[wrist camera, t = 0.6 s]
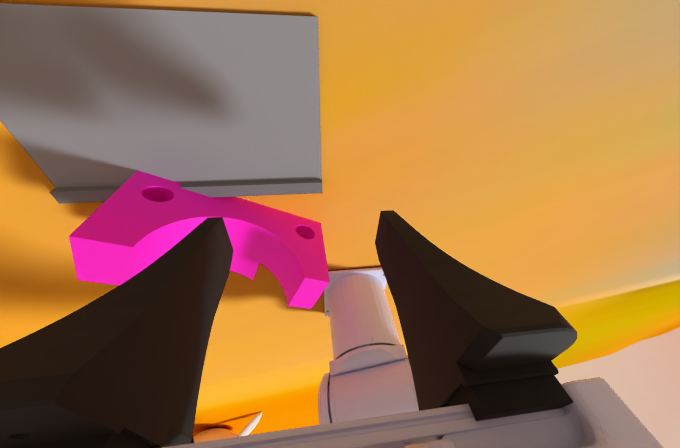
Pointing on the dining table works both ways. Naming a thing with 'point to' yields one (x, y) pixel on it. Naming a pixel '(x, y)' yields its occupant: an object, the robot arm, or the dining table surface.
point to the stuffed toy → (224, 432)
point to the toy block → (184, 216)
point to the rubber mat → (163, 98)
